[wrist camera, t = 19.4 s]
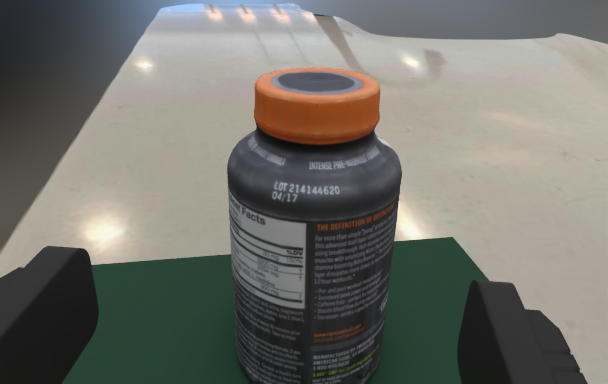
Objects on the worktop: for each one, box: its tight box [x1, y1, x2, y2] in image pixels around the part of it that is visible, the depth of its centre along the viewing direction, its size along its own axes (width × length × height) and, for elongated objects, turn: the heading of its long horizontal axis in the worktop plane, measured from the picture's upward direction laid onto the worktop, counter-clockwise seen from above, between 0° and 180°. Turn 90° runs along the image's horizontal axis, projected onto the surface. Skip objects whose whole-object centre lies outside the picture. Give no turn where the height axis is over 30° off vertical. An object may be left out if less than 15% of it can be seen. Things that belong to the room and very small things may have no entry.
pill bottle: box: [227, 68, 402, 384], centre depth 19 cm, size 6×6×11 cm
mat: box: [62, 237, 489, 384], centre depth 22 cm, size 20×14×1 cm
